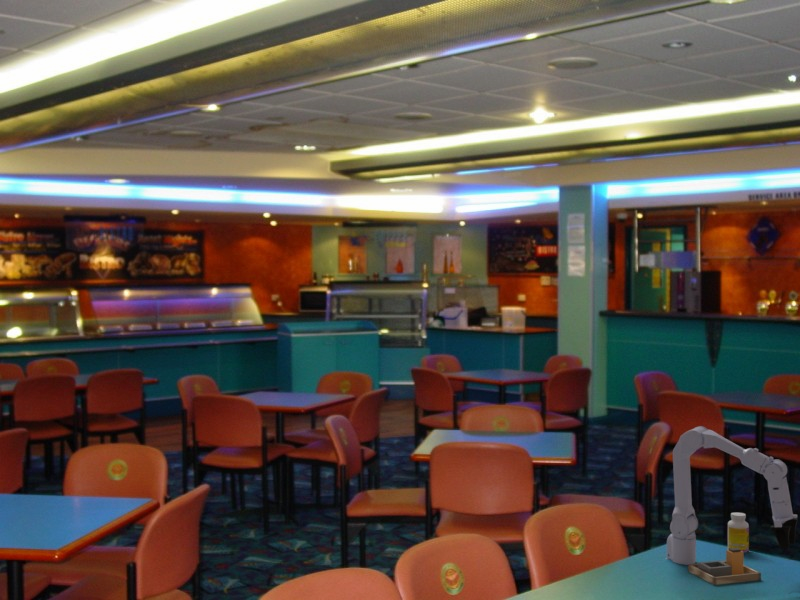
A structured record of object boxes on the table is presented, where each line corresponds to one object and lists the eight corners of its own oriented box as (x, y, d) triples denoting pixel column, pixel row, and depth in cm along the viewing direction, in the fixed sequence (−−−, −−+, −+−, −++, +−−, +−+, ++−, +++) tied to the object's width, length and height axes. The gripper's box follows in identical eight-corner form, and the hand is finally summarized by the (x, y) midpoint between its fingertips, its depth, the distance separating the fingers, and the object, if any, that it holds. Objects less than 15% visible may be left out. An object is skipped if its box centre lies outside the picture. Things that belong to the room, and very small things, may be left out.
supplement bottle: (750, 555, 328) (750, 516, 328) (728, 554, 330) (729, 516, 329) (747, 550, 335) (747, 512, 334) (726, 549, 336) (726, 511, 336)
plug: (726, 572, 307) (726, 548, 307) (737, 571, 308) (737, 547, 308) (732, 575, 304) (732, 551, 304) (743, 574, 305) (743, 549, 305)
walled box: (687, 574, 310) (687, 564, 309) (733, 569, 314) (733, 559, 314) (714, 588, 296) (714, 578, 296) (760, 583, 300) (760, 573, 300)
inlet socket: (698, 573, 306) (698, 562, 306) (719, 571, 309) (719, 560, 308) (710, 580, 300) (710, 568, 300) (731, 577, 302) (731, 566, 302)
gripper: (788, 505, 294) (796, 551, 294) (799, 495, 306) (807, 540, 306) (764, 506, 298) (771, 552, 298) (776, 496, 310) (783, 540, 310)
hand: (788, 546), depth 302 cm, fingers open, 7 cm apart
